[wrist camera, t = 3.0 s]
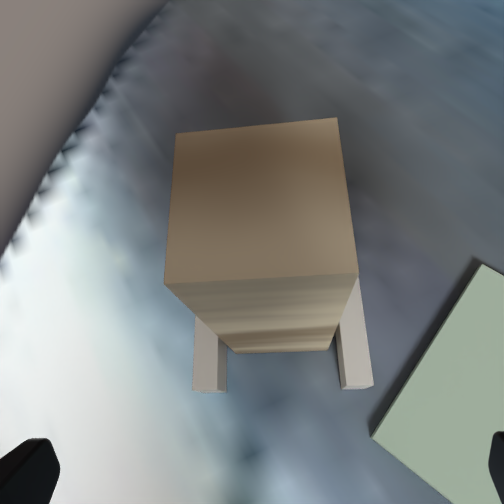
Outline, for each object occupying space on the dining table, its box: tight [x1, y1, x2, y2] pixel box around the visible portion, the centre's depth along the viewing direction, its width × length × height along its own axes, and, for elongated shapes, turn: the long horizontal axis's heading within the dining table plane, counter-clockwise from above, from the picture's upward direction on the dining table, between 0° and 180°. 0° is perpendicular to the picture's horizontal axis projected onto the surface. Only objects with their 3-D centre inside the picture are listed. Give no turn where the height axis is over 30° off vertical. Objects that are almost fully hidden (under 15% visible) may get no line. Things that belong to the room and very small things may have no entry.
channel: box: [192, 277, 374, 393], centre depth 21 cm, size 13×8×2 cm, turn 1°
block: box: [164, 118, 359, 354], centre depth 16 cm, size 5×5×12 cm
